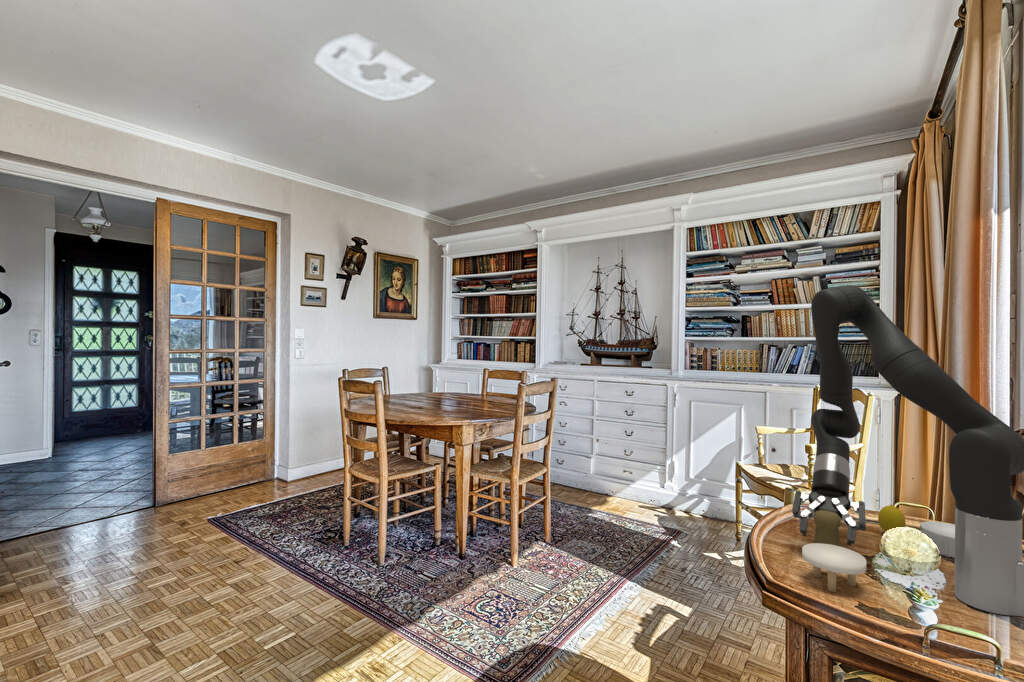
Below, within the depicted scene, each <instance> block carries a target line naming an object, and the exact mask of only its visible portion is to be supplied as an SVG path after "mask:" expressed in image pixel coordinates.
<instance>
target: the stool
mask: <svg viewBox="0 0 1024 682" xmlns="http://www.w3.org/2000/svg"><path fill="white" fill-rule="evenodd" d="M801 549H802V550H801V557H802V559H803V560H804V561H806V562H807V563H808V564H809V565H812V577H814V578H821V574H822V572H821V570H825V571H827V591H828V592H831V593H836V592H837V573H838V574H842V575H847V577H846V578H847V585H848V586H850V587H856V585H857V584H856V583H857V581H856V579H857V575H859V574H863V573H866V572H867V558H865V556H863V555H862V554H860V553H858V552H857V551H854V550H852V549H849V548H846V547H844V546H841V545H840V546H836V545H830V544H822V543H814V542H812V543H807V544H804V545H803V546H802V547H801Z"/></svg>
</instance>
